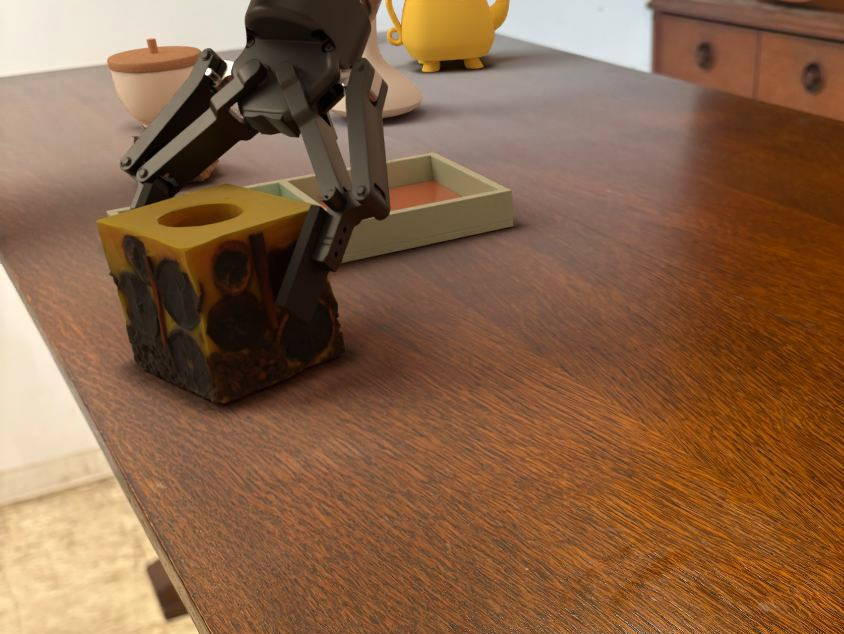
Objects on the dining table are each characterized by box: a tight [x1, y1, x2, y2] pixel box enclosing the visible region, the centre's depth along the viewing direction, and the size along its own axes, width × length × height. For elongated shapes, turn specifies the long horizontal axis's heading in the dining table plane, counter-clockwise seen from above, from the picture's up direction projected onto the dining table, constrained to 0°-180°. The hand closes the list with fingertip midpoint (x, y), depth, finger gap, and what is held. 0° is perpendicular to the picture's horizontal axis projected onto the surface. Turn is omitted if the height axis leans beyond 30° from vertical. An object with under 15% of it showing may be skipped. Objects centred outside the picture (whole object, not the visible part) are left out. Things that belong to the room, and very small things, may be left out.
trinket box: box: [106, 37, 202, 129], centre depth 129 cm, size 11×11×9 cm
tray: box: [106, 151, 514, 264], centre depth 92 cm, size 16×30×3 cm, turn 119°
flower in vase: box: [330, 16, 424, 119], centre depth 123 cm, size 13×11×25 cm
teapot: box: [384, 0, 510, 73], centre depth 152 cm, size 14×20×13 cm
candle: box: [96, 183, 346, 404], centre depth 69 cm, size 10×10×10 cm
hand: (206, 300), depth 68 cm, fingers open, 13 cm apart
